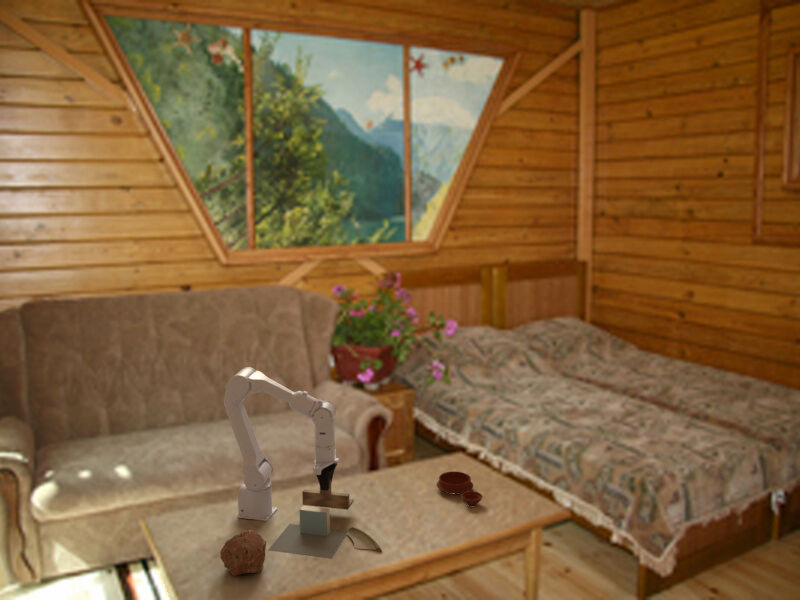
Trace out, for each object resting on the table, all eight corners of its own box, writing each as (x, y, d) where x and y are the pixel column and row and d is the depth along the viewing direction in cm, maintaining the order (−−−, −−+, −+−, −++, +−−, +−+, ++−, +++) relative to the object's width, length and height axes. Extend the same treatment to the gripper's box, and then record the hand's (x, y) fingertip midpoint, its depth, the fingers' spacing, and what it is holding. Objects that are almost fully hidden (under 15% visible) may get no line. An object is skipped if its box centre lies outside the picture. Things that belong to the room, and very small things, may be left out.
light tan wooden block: (300, 532, 201) (299, 509, 200) (303, 528, 204) (302, 505, 203) (327, 536, 200) (326, 512, 198) (330, 531, 202) (329, 508, 201)
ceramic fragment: (383, 552, 192) (382, 539, 192) (368, 559, 189) (367, 545, 188) (350, 534, 203) (350, 521, 202) (336, 540, 199) (335, 527, 199)
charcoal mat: (268, 550, 192) (268, 550, 192) (289, 524, 207) (289, 523, 207) (331, 559, 188) (331, 558, 188) (348, 531, 203) (348, 530, 203)
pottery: (462, 480, 236) (462, 468, 236) (493, 505, 218) (494, 492, 218) (430, 486, 232) (430, 474, 231) (459, 513, 214) (460, 499, 213)
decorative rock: (256, 586, 176) (254, 548, 174) (213, 581, 178) (211, 544, 176) (274, 558, 189) (273, 523, 187) (234, 554, 191) (232, 519, 189)
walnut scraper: (302, 504, 211) (301, 478, 210) (309, 496, 216) (308, 471, 215) (348, 509, 208) (347, 483, 207) (353, 501, 213) (353, 475, 212)
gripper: (329, 454, 199) (330, 500, 201) (345, 436, 213) (346, 479, 215) (306, 452, 201) (307, 497, 203) (323, 434, 215) (324, 477, 217)
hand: (325, 488), depth 209 cm, fingers closed on walnut scraper
